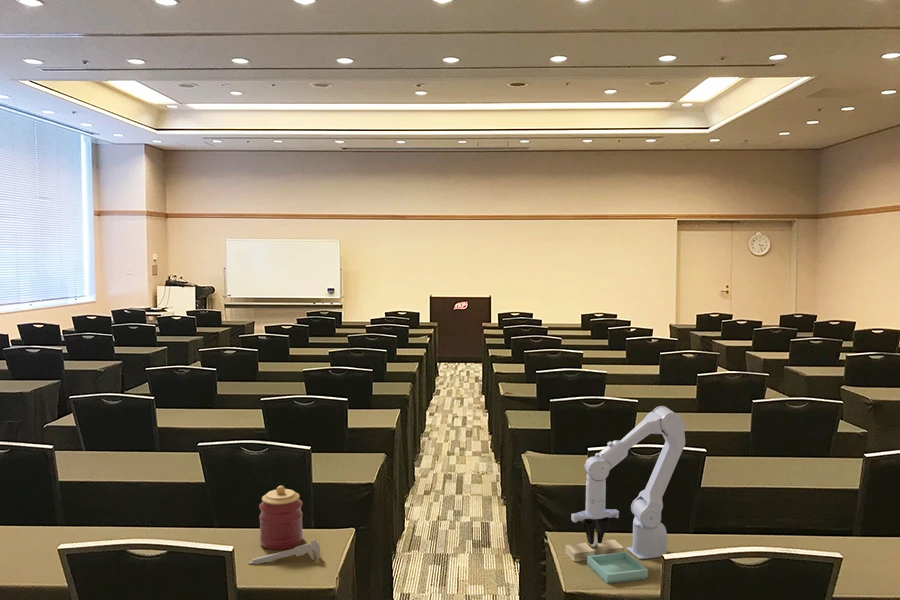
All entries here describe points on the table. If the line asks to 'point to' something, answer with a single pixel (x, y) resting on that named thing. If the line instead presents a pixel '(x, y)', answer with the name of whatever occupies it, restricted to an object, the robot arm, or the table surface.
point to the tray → (617, 567)
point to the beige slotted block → (584, 549)
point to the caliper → (290, 553)
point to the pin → (595, 540)
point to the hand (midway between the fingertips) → (594, 542)
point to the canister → (280, 519)
